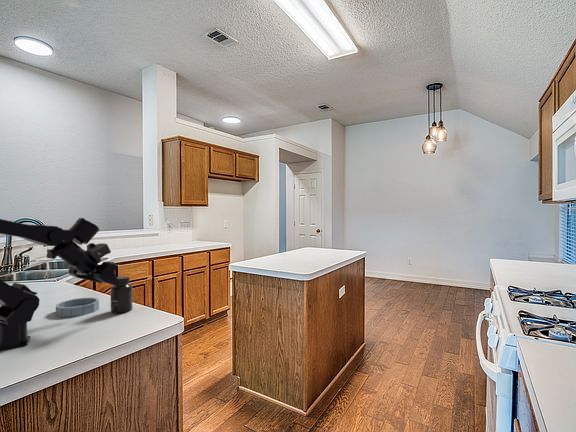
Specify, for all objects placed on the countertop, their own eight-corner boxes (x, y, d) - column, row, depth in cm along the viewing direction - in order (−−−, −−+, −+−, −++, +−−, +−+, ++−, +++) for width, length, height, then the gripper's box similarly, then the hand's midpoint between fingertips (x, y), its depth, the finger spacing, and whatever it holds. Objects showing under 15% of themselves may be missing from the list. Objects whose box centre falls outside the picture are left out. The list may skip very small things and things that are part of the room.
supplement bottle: (108, 315, 106) (107, 280, 106) (113, 309, 113) (113, 276, 113) (130, 313, 108) (129, 278, 108) (134, 307, 115) (133, 274, 115)
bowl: (99, 312, 109) (99, 303, 109) (54, 319, 102) (54, 310, 102) (98, 303, 120) (98, 295, 120) (57, 309, 113) (57, 301, 113)
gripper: (110, 236, 97) (142, 266, 107) (77, 235, 106) (109, 262, 116) (85, 266, 91) (121, 294, 101) (51, 261, 99) (88, 288, 109)
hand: (110, 283), depth 107 cm, fingers open, 9 cm apart
